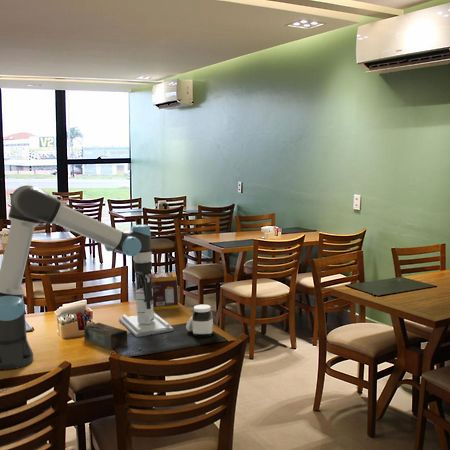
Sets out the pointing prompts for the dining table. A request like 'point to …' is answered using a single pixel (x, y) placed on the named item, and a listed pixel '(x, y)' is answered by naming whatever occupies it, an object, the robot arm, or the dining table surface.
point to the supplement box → (164, 290)
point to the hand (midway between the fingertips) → (145, 313)
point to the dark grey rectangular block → (105, 336)
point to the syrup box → (143, 308)
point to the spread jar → (201, 321)
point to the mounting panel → (145, 326)
